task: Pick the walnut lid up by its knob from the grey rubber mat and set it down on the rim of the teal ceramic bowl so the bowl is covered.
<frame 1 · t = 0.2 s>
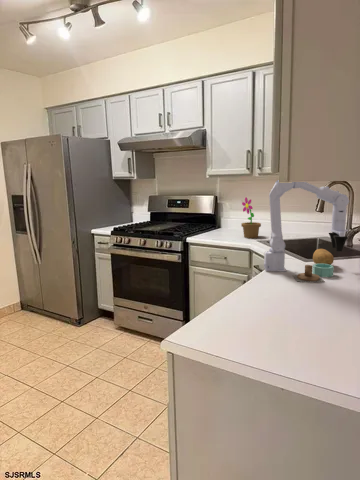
hand: (336, 249, 150), 10 cm above the countertop, fingers open, 7 cm apart
lid: (308, 271, 140), on the mat
bowl: (322, 274, 146), on the countertop
mat: (308, 278, 140), on the countertop
potato: (322, 266, 159), on the countertop
flowerpot: (251, 237, 244), on the countertop
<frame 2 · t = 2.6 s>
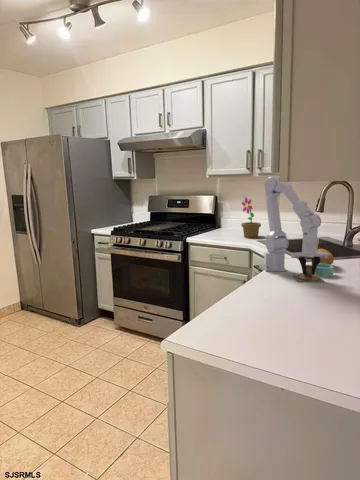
hand: (308, 274, 140), 2 cm above the countertop, fingers closed on lid, 3 cm apart
lid: (308, 271, 140), on the mat, touching gripper
everything else where it was.
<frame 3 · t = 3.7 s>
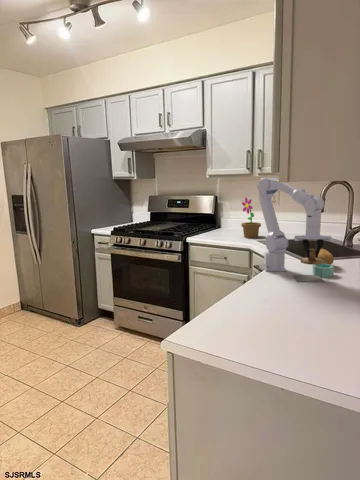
hand: (311, 257, 140), 9 cm above the countertop, fingers closed on lid, 3 cm apart
lid: (311, 255, 139), point 10 cm above the countertop, touching gripper
everything else where it was.
when the fingers open (7 cm above the countertop, at t = 4.9 s): lid stays where it is, resting on bowl.
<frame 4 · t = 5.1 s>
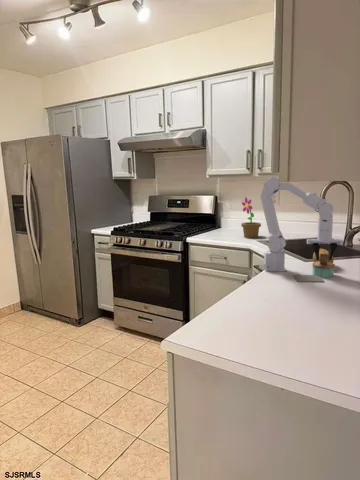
hand: (323, 259, 145), 7 cm above the countertop, fingers open, 5 cm apart
lid: (323, 260, 144), on the bowl, point 7 cm above the countertop
everything else where it was.
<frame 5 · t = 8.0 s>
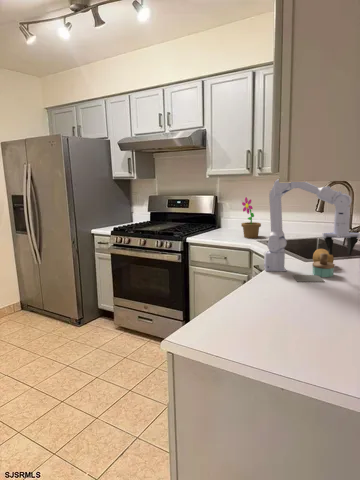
hand: (339, 254, 139), 10 cm above the countertop, fingers open, 7 cm apart
nothing on the countertop moved.
at the end: lid 0.4 cm off-centre on the bowl, point 6.7 cm above the bowl's base; lid tilted 0°; the gripper is holding nothing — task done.
